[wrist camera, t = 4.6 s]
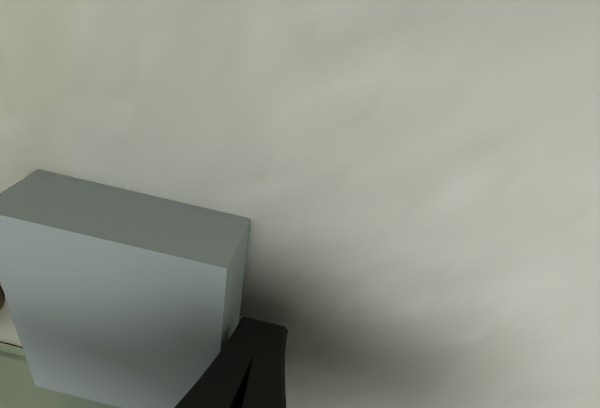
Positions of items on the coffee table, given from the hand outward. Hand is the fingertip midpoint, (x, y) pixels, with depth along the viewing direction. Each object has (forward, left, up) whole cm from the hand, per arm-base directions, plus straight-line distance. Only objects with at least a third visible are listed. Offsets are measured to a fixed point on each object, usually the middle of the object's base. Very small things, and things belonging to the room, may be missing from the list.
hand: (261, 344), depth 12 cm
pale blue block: (+4, 0, -2) cm, 4 cm away
